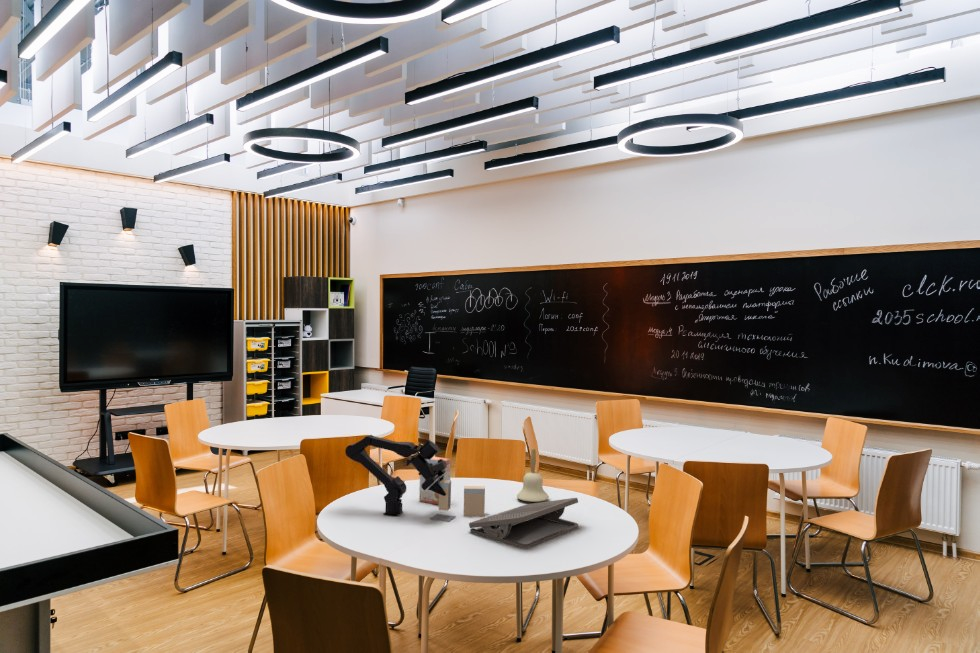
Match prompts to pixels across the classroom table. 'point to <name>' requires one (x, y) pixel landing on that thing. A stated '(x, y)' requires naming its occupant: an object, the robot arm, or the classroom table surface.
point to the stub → (445, 500)
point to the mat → (443, 517)
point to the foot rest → (521, 514)
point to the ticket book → (474, 500)
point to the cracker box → (428, 494)
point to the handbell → (532, 484)
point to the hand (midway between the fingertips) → (446, 493)
